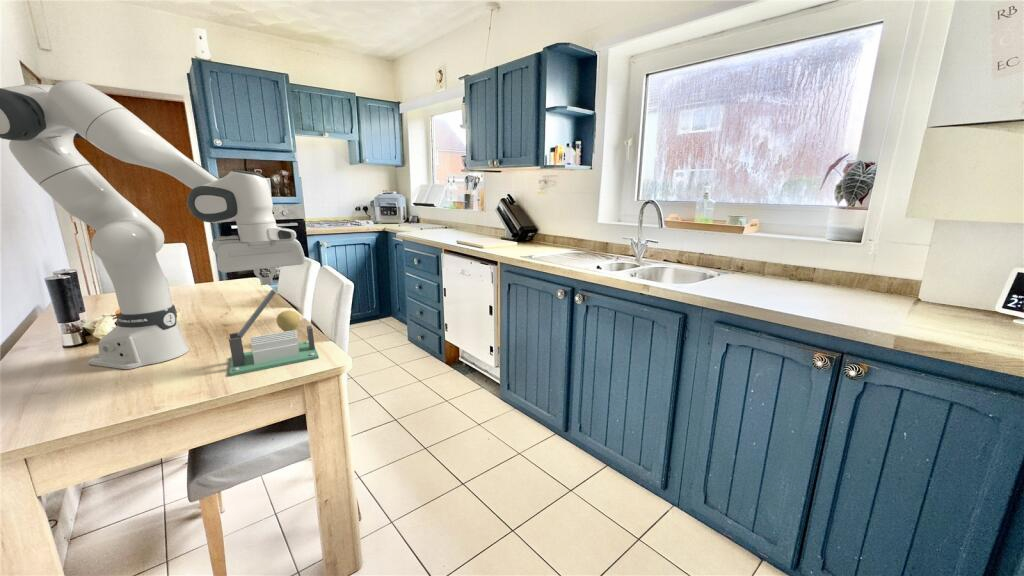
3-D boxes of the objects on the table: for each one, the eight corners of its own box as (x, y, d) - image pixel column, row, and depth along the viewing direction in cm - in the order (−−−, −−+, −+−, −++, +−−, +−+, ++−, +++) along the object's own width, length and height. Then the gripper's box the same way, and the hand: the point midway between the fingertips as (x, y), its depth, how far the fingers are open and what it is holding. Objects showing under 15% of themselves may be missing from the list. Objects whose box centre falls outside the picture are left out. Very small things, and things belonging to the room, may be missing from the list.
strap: (236, 345, 108) (232, 343, 107) (236, 341, 110) (232, 340, 110) (275, 293, 111) (272, 291, 110) (275, 290, 113) (271, 288, 112)
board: (230, 376, 104) (224, 345, 102) (231, 357, 115) (226, 329, 113) (318, 358, 115) (315, 330, 113) (312, 342, 126) (309, 317, 124)
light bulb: (292, 345, 124) (288, 314, 122) (275, 343, 126) (270, 313, 123) (307, 338, 130) (303, 308, 128) (289, 336, 132) (285, 307, 129)
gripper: (209, 238, 99) (220, 292, 102) (301, 232, 109) (309, 281, 113) (211, 235, 104) (221, 287, 107) (299, 230, 115) (306, 277, 118)
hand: (267, 284), depth 110 cm, fingers closed
